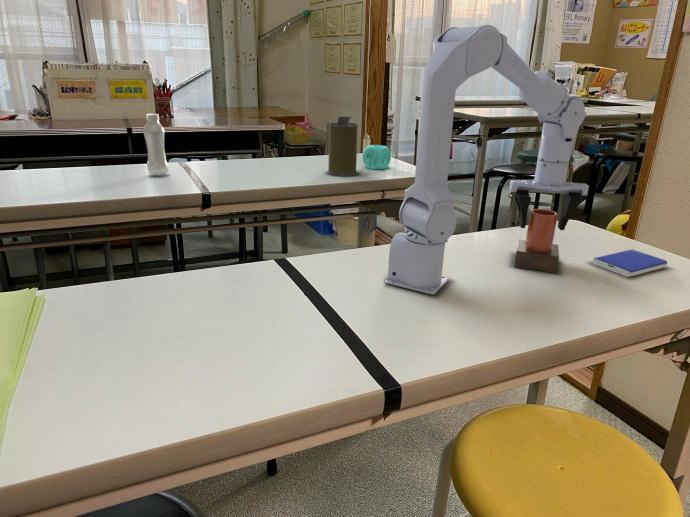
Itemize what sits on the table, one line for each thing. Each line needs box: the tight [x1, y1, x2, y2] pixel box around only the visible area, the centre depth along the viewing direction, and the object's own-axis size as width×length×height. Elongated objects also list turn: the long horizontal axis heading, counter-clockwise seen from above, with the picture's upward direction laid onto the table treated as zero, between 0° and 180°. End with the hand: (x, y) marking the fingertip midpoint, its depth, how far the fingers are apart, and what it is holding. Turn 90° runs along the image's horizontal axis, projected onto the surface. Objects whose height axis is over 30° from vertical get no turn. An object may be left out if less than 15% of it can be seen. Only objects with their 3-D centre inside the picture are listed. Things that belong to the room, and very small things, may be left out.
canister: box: [326, 115, 359, 177], centre depth 182 cm, size 11×10×20 cm
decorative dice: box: [362, 144, 392, 170], centre depth 197 cm, size 8×8×8 cm
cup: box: [525, 208, 559, 252], centre depth 104 cm, size 5×5×8 cm
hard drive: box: [592, 248, 668, 278], centre depth 106 cm, size 2×8×12 cm
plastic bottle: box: [142, 113, 169, 177], centre depth 170 cm, size 6×7×20 cm
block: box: [513, 239, 560, 274], centre depth 106 cm, size 8×8×4 cm
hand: (541, 227), depth 104 cm, fingers open, 7 cm apart
